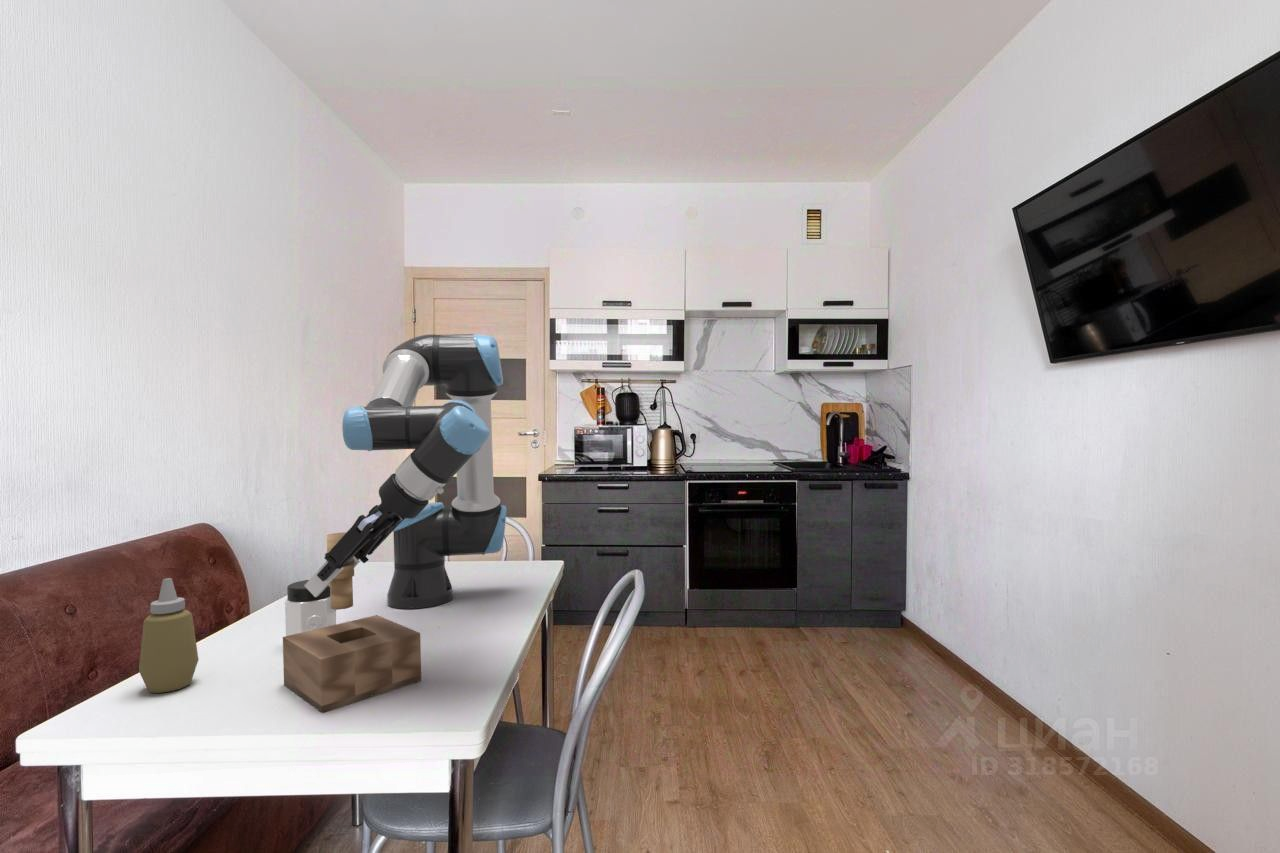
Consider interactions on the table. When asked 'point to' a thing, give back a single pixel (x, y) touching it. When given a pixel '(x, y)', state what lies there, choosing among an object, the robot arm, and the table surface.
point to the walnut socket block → (351, 661)
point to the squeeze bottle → (168, 643)
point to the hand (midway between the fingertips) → (320, 586)
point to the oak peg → (341, 579)
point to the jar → (307, 609)
